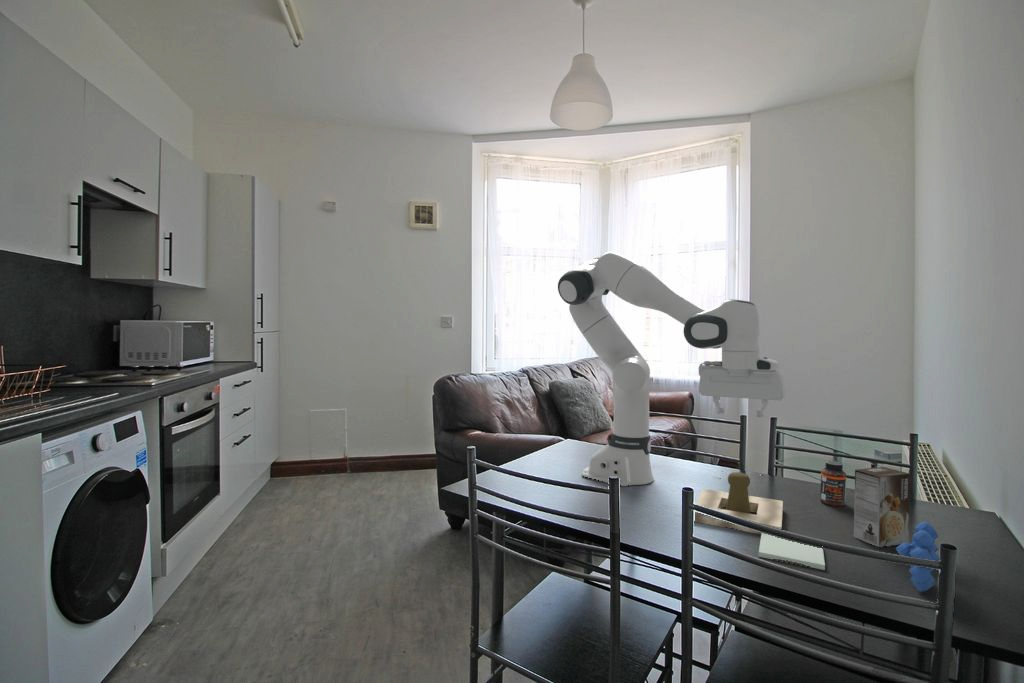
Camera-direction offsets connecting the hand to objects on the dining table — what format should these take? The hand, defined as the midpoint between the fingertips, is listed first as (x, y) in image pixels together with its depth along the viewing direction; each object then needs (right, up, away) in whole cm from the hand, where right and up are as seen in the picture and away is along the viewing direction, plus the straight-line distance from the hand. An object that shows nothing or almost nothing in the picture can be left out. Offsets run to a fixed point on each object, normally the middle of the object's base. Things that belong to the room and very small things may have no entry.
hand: (740, 415), depth 131 cm
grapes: (+18, -27, -35) cm, 48 cm away
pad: (+1, -27, -21) cm, 34 cm away
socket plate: (-1, -26, 0) cm, 26 cm away
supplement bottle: (+30, -26, +9) cm, 40 cm away
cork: (-1, -26, 0) cm, 26 cm away
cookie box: (+25, -27, -15) cm, 40 cm away
